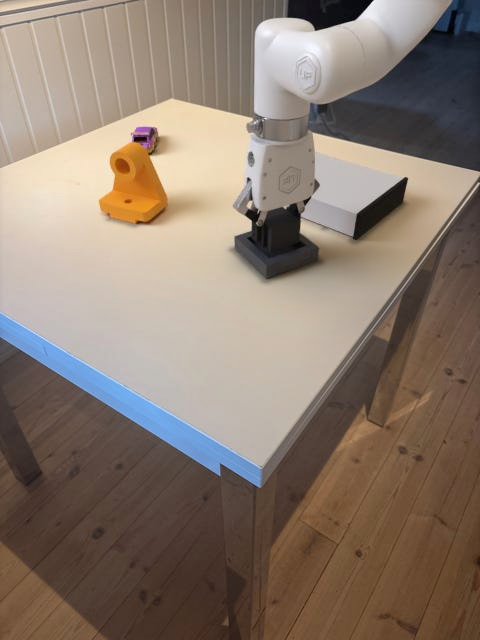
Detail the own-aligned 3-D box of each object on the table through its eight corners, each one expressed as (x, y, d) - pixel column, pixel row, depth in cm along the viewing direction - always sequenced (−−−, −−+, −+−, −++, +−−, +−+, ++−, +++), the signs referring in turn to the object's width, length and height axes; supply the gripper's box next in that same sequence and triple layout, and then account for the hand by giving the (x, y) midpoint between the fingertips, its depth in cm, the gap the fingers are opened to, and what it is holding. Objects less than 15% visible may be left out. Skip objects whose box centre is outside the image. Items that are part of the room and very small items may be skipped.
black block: (280, 227, 82) (281, 205, 79) (299, 242, 78) (301, 220, 76) (252, 236, 80) (252, 214, 77) (270, 252, 76) (271, 230, 74)
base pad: (283, 232, 86) (284, 220, 84) (317, 260, 80) (319, 247, 78) (234, 248, 82) (234, 236, 81) (266, 279, 76) (266, 265, 74)
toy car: (160, 136, 121) (158, 117, 118) (153, 155, 112) (151, 135, 109) (138, 136, 121) (135, 117, 118) (129, 155, 112) (126, 135, 109)
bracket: (99, 214, 92) (85, 152, 84) (121, 198, 97) (110, 137, 89) (147, 226, 88) (137, 162, 80) (168, 208, 93) (160, 146, 85)
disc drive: (356, 240, 84) (361, 214, 81) (255, 201, 95) (255, 176, 92) (403, 202, 94) (409, 177, 91) (306, 170, 105) (308, 147, 102)
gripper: (240, 146, 61) (241, 265, 73) (347, 121, 68) (332, 234, 80) (213, 127, 66) (218, 241, 78) (315, 105, 73) (305, 214, 85)
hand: (275, 236), depth 79 cm, fingers closed on black block, 5 cm apart
